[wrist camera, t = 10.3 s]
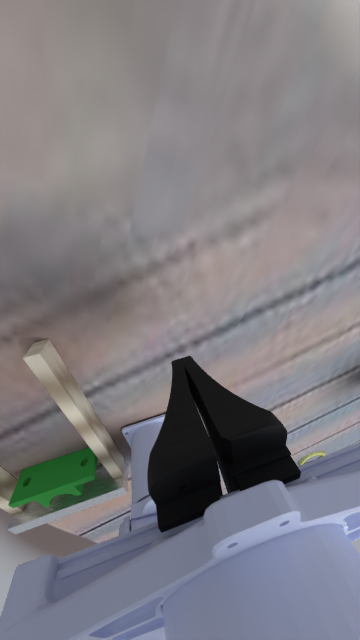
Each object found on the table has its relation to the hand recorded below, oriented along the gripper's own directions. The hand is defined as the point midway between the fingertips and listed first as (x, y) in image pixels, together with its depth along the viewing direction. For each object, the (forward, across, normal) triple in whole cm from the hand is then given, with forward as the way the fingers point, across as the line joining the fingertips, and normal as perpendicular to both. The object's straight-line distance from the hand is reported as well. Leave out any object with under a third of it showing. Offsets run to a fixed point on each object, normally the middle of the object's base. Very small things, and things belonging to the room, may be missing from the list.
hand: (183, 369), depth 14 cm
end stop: (+9, +20, +24) cm, 33 cm away
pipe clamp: (+10, +20, +20) cm, 30 cm away
